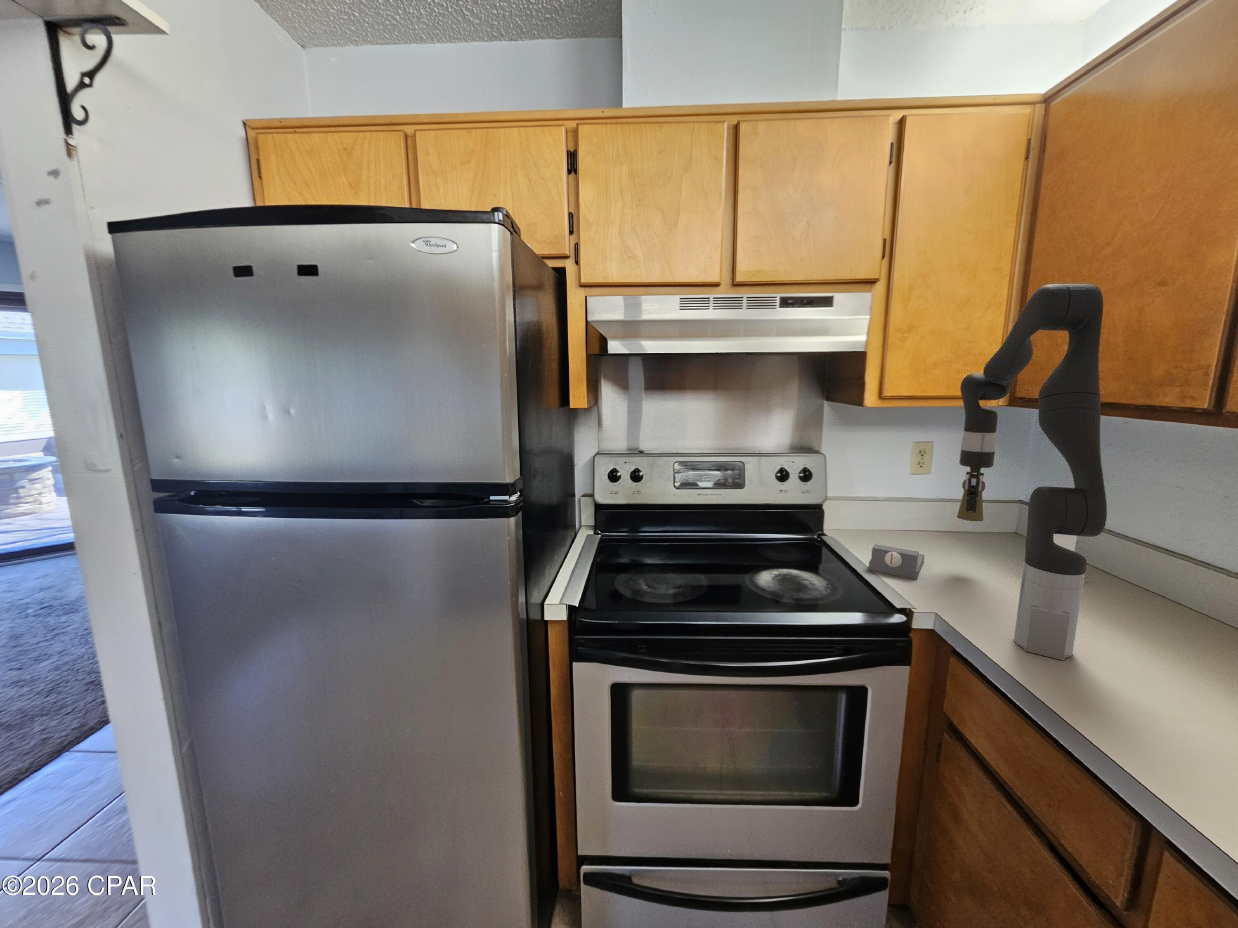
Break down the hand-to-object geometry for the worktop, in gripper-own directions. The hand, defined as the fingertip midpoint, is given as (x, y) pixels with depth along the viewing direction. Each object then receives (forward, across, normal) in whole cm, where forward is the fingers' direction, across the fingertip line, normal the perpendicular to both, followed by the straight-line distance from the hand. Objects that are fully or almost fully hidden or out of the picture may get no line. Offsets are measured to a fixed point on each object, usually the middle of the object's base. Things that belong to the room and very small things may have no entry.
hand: (970, 510), depth 137 cm
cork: (+3, 0, 0) cm, 3 cm away
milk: (+18, +18, -20) cm, 33 cm away
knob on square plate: (+18, -5, +16) cm, 25 cm away
